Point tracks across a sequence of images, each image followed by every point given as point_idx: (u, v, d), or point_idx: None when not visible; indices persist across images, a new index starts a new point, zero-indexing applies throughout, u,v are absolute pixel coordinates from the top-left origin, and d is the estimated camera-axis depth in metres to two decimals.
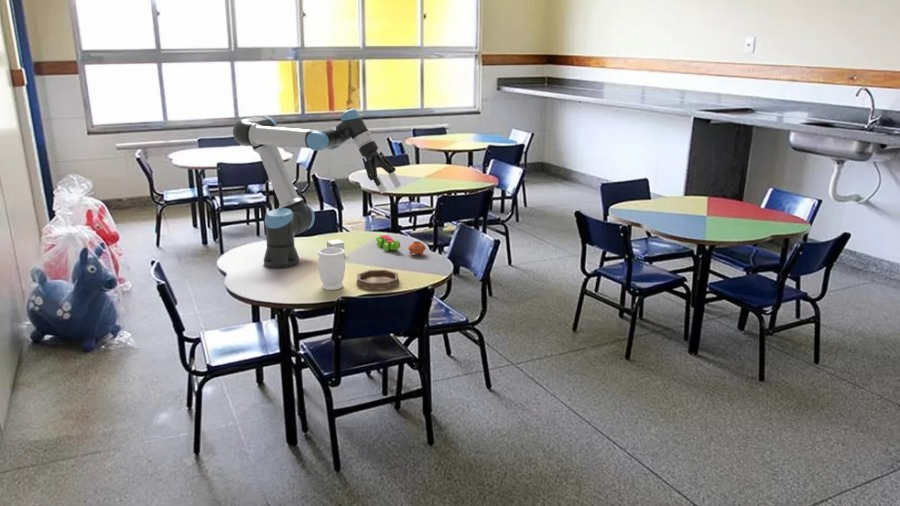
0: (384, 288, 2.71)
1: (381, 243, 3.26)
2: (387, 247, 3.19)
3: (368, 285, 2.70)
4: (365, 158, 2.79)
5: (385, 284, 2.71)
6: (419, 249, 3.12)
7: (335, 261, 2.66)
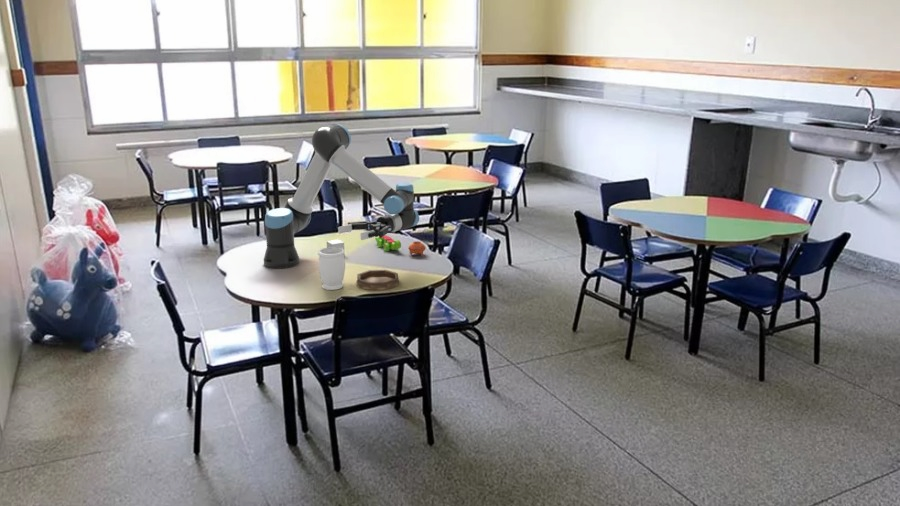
0: (384, 288, 2.71)
1: (381, 243, 3.25)
2: (388, 247, 3.19)
3: (368, 285, 2.70)
4: (390, 229, 2.81)
5: (385, 284, 2.71)
6: (419, 249, 3.12)
7: (335, 261, 2.66)
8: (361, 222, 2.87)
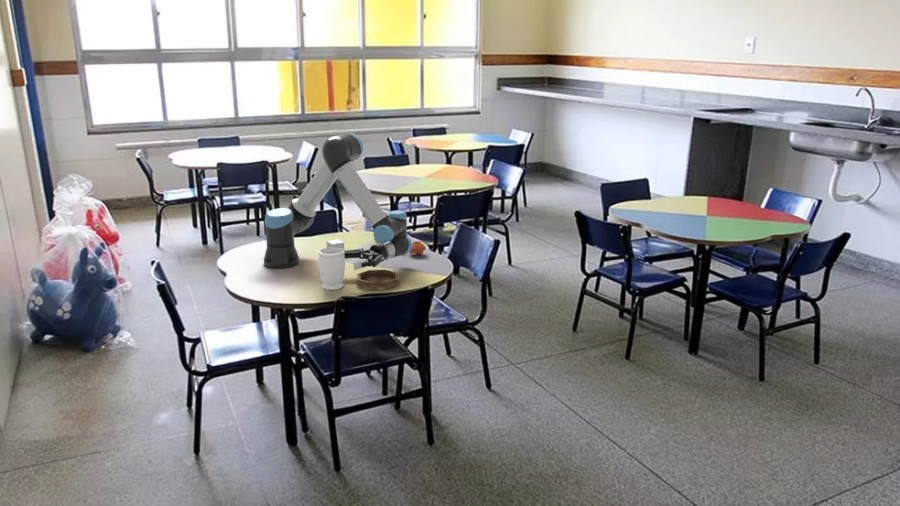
0: (384, 288, 2.71)
1: None
2: None
3: (368, 285, 2.70)
4: (383, 258, 2.81)
5: (385, 284, 2.71)
6: (419, 249, 3.12)
7: (335, 261, 2.66)
8: (354, 250, 2.87)
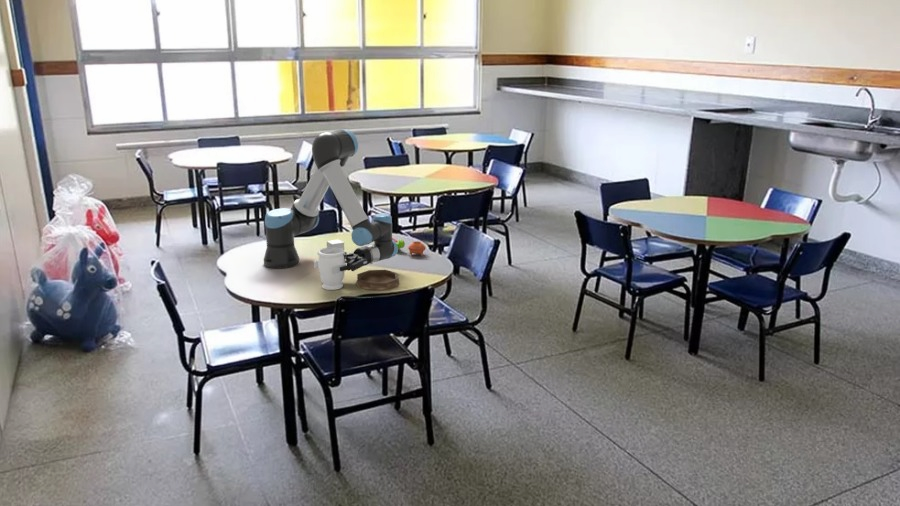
0: (384, 288, 2.71)
1: None
2: None
3: (368, 285, 2.70)
4: (365, 263, 2.75)
5: (385, 284, 2.71)
6: (419, 249, 3.12)
7: (335, 261, 2.66)
8: None
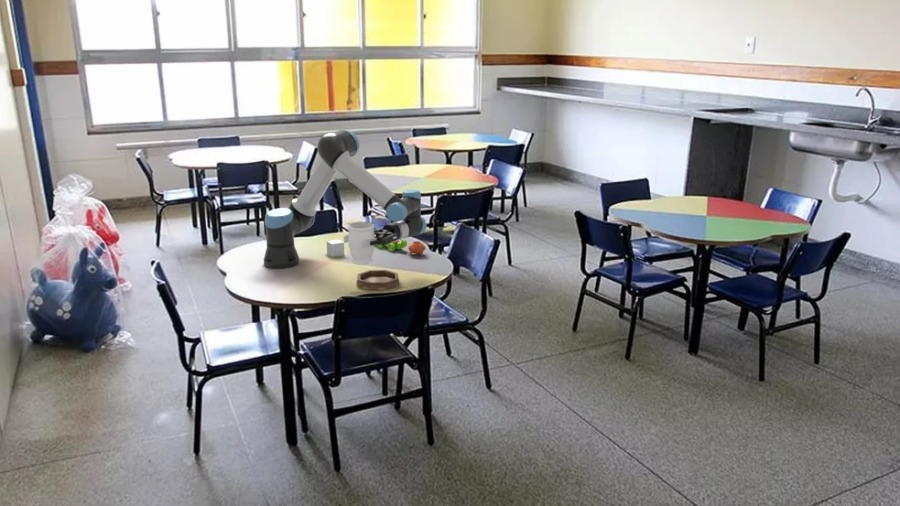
0: (384, 288, 2.71)
1: None
2: (394, 247, 3.20)
3: (368, 285, 2.70)
4: (395, 238, 2.74)
5: (385, 284, 2.71)
6: (419, 249, 3.12)
7: (365, 235, 2.65)
8: None
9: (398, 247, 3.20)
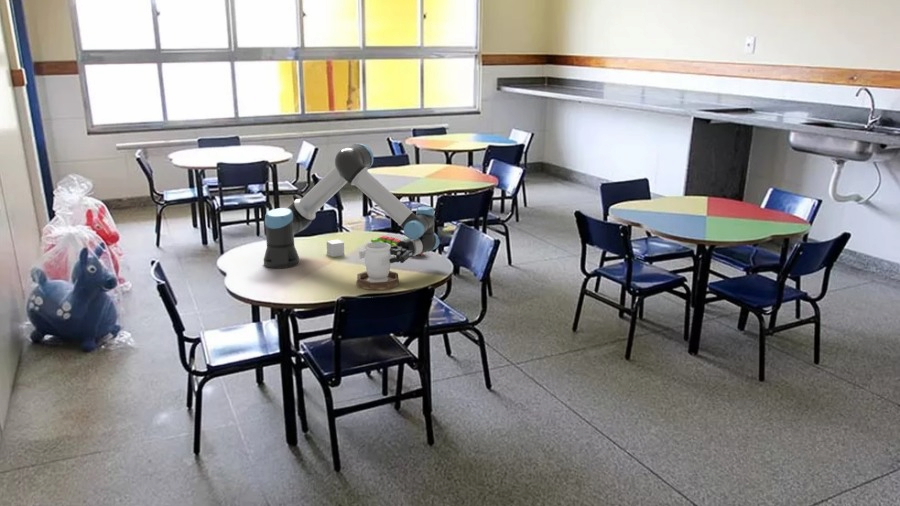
0: (384, 288, 2.71)
1: None
2: None
3: (368, 285, 2.70)
4: (411, 254, 2.80)
5: (385, 284, 2.71)
6: None
7: (382, 255, 2.71)
8: None
9: None
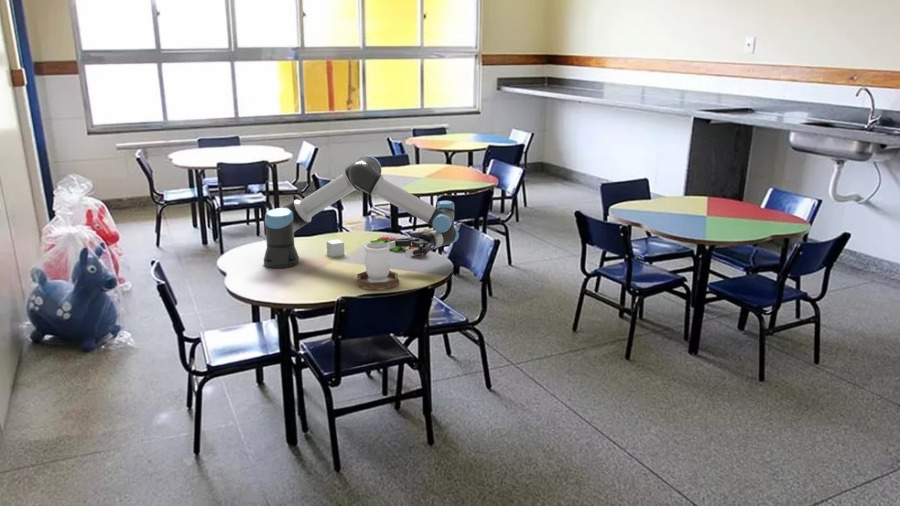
0: (384, 288, 2.71)
1: None
2: (399, 246, 3.21)
3: (368, 285, 2.70)
4: (432, 247, 2.89)
5: (385, 284, 2.71)
6: None
7: (382, 255, 2.71)
8: (404, 239, 2.95)
9: (403, 246, 3.21)
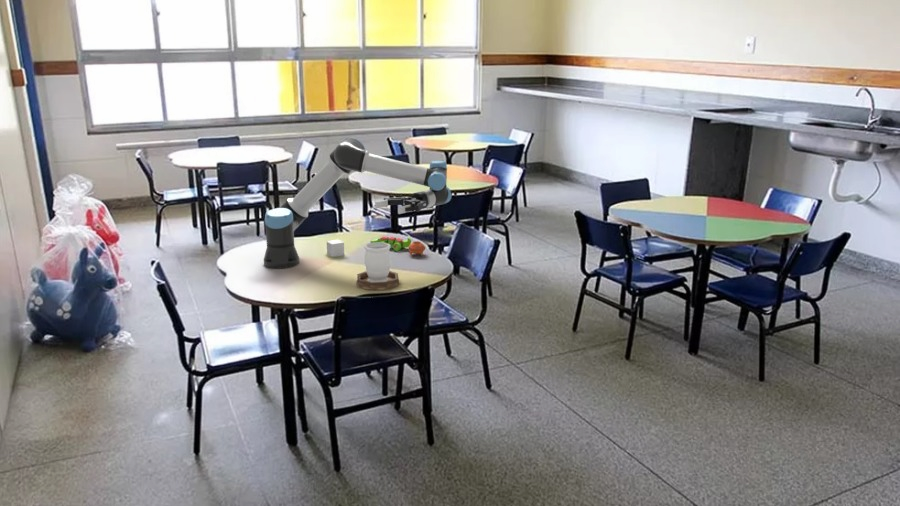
0: (384, 288, 2.71)
1: None
2: (400, 246, 3.21)
3: (368, 285, 2.70)
4: (425, 205, 2.90)
5: (385, 284, 2.71)
6: (418, 249, 3.12)
7: (382, 255, 2.71)
8: (396, 198, 2.96)
9: (404, 245, 3.22)
